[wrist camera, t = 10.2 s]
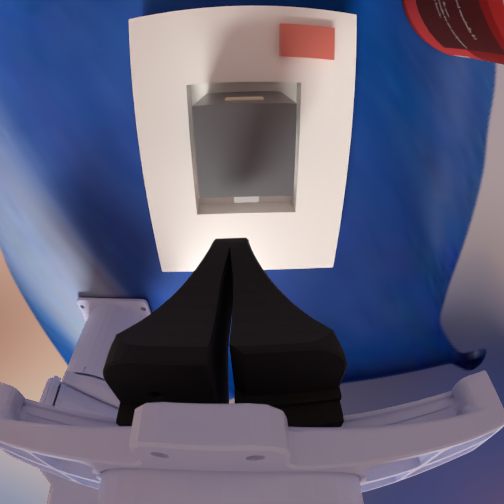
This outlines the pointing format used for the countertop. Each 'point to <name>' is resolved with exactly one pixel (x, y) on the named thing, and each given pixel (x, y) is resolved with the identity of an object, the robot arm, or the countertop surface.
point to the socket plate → (244, 80)
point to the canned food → (460, 26)
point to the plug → (245, 145)
